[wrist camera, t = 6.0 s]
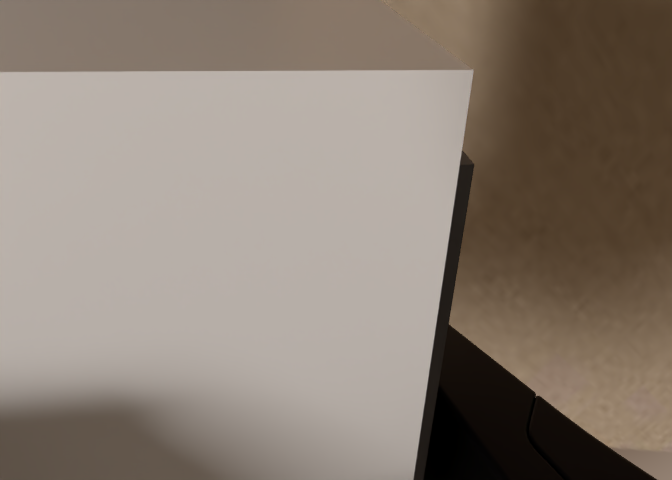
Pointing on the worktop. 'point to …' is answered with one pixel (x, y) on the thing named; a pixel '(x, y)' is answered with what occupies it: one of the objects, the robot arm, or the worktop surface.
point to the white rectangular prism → (225, 238)
